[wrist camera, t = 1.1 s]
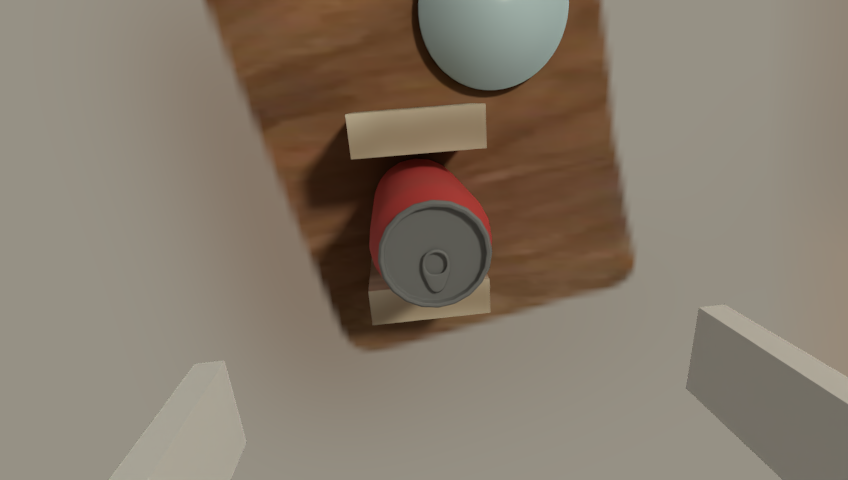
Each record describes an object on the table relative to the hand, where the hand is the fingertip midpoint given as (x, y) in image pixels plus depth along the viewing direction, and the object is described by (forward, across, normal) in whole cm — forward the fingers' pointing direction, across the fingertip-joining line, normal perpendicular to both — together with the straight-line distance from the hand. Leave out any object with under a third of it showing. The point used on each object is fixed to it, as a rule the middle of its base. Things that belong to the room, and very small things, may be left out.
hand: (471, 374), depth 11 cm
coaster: (+21, +6, +13) cm, 25 cm away
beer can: (+21, 0, 0) cm, 21 cm away
